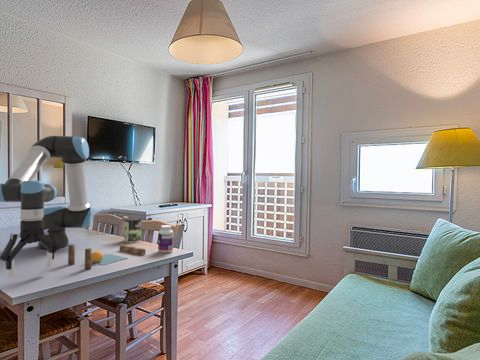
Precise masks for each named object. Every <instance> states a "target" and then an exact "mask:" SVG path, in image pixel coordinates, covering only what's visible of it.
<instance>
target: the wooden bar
mask: <svg viewBox="0 0 480 360" xmlns="http://www.w3.org/2000/svg"><path fill="white" fill-rule="evenodd" d="M119 251H120V252H124V253H125V252H126V253H130V254H134V255H138V256H145V255H146V251H147V250H146V248H141V247H138V246H137V247H136V246H132V245H127V244H119Z"/></svg>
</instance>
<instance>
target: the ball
mask: <svg viewBox="0 0 480 360" xmlns="http://www.w3.org/2000/svg"><path fill="white" fill-rule="evenodd" d="M103 255H104V254H103V252H102V251H100V250H96V251H92V257H91V260H92V261H93V262H95V263H94V264H96V263H97V262H100V261H101V260H102V259H103Z"/></svg>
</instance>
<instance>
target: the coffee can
mask: <svg viewBox="0 0 480 360" xmlns="http://www.w3.org/2000/svg"><path fill="white" fill-rule="evenodd" d="M123 221H124V224H123V225H124V226H123V228H124V229H123V242H124V243H127V244H128V243H129V244H132V243H139V242H141V239H142V238H141V233H142V218H139V217H129V218H124V220H123Z"/></svg>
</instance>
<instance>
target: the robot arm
mask: <svg viewBox="0 0 480 360" xmlns="http://www.w3.org/2000/svg"><path fill="white" fill-rule="evenodd" d="M89 156H90V147H89V143H88V141H87V140H86V139H85V138H84V137H80V136H75V135H74V136H72V135H71V136H70V135H69V136H68V135H49V136H46V137H43V138H41V139H39V140H37V141H36V142H34V143H33V144H32V146H31V147H30V148H29V149H28V154H27V155H26V156H25V158H23V160H22V161H21V162H20V164H19V165H18V167H17V168H16V169H15V170H14V171H13V172H12V174H11V175H10V177H9V178H7V180H6V181H5V183H2V182H1V183H0V202H1V203H2V202H3V203H20V214H19V215H20V225H19V228H20V232H19V233H11V234H9V235H10V236H9V240H8V242H7V243H6V246H5V247H4V250H3V251H2V253H1V255H0V261H4V262H5V270H7V271H8V278H10V279H15V262H16V261H15V260H14V258H15V257H16V256H17V255H18V254H19V252H20V251H21V250H22V249H23V248H24V247H25V246H26V245H27V244H33V243H34V244H35V243H37V249H41V250H47V251H46V268H47V269H53V260H55V253H56V252H57V251H58V250H59V249H61V248H62V249H63V248H65V247H68V245H70V244H69V239H68V235H67V233H66V229H84V228H85V229H86V228H90V227H91V226H92V224H93V222H94V218H95V209H94V208H93V207H91V204H90V203H89V202H87V201H88V199H87V191H86V190H87V189H86V178H85V170H84V169H85V167H84V164H85V163H86V162H87V159H88V158H89ZM52 158H55V159H56V158H57V159H61V160H60V161H61V163H63V164H64V165H65V171H66V181H67V189H68V190H67V191H68V199H69V204H68V205H67V206H66V205H65V204H62V205H53V206H48V207H45V205H44V204H45V203H48V202H51V201H53V200H55V199H56V198H57V196H58V189H57V188H56V187H55V186H54V185H52V184H48V183H45V182H44V181H42V180H33V179H34V178H35V177H36V175H37V173H39V171H40V170H41V168H42V167H43V165H44V163H45V162H47V161H50V159H52ZM19 238H20V240H19ZM18 240H19V241H18ZM17 241H18V242H17ZM16 242H17V244H16ZM15 244H16V245H15Z"/></svg>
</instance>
